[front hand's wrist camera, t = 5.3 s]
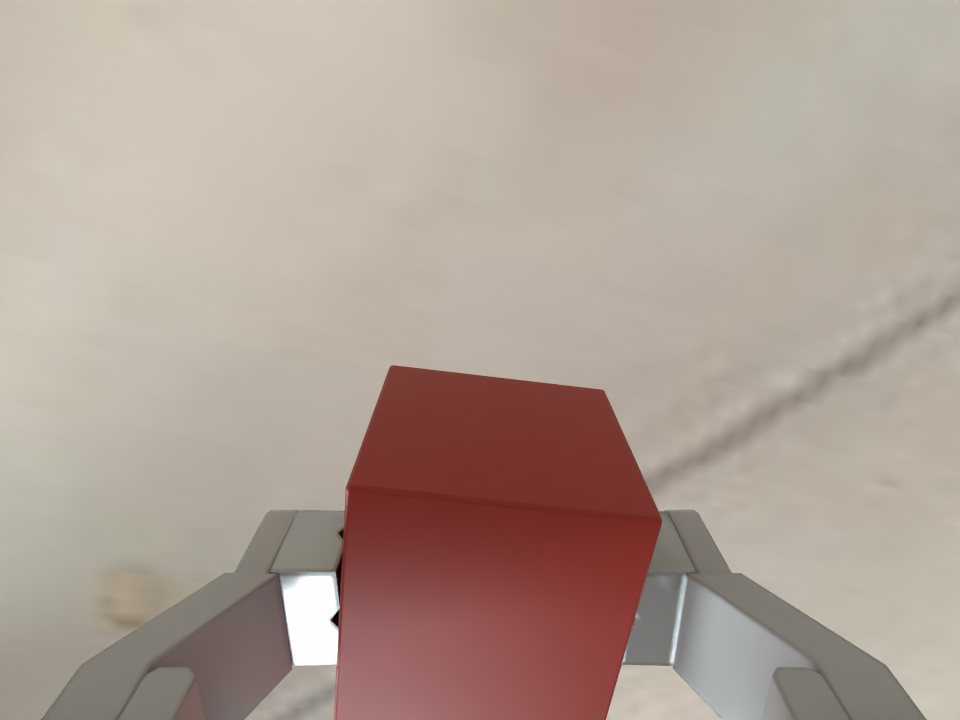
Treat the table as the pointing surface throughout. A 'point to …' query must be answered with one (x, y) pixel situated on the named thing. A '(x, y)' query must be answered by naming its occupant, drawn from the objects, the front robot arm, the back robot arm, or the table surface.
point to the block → (489, 552)
